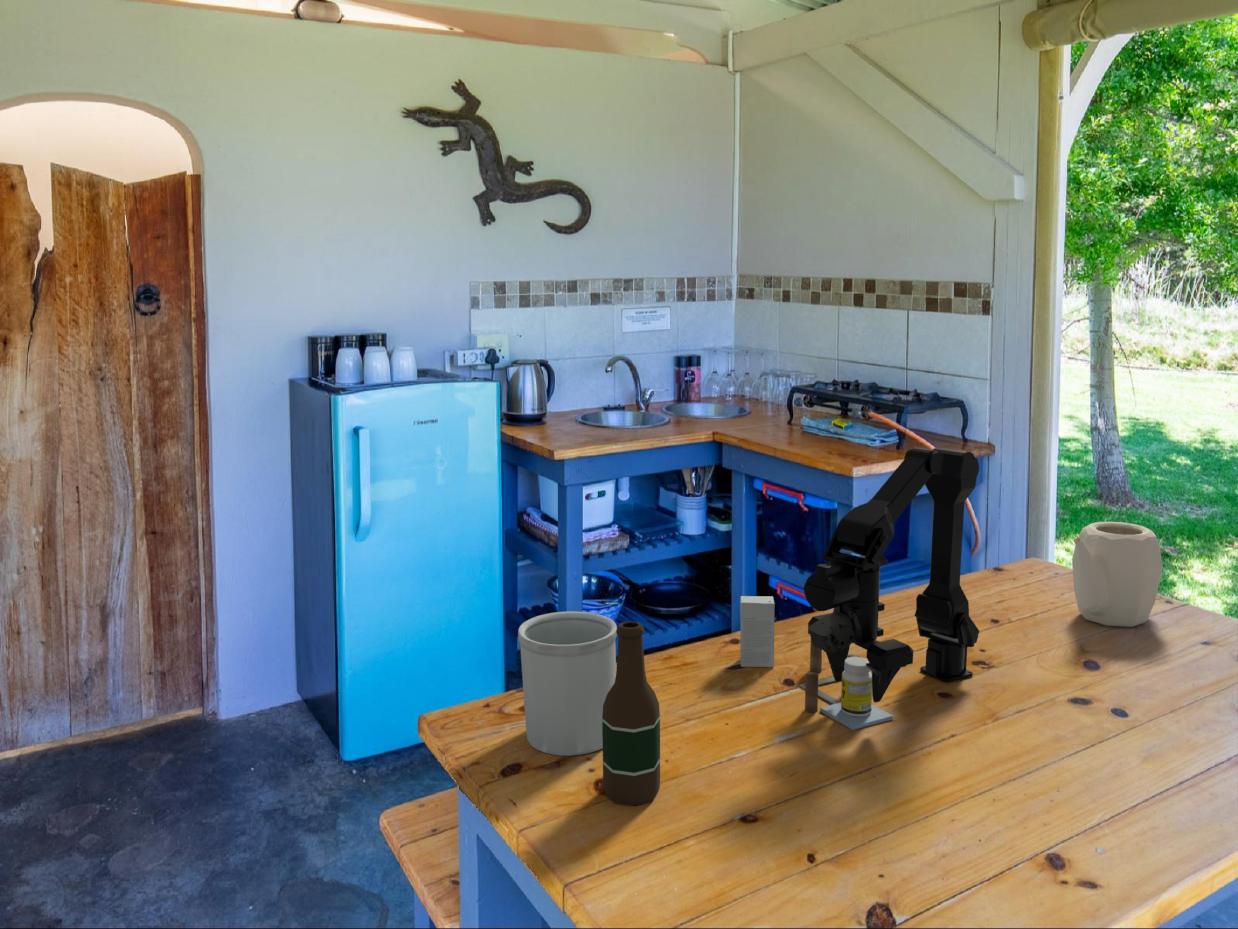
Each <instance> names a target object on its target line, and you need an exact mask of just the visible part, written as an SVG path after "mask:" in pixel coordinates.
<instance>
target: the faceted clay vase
mask: <svg viewBox="0 0 1238 929" xmlns="http://www.w3.org/2000/svg"><path fill="white" fill-rule="evenodd" d="M1072 541H1073V543H1074V544H1075V545H1074V550H1073V554H1072V558H1071V561H1072V563H1071V564H1072V578H1073V591H1074V595H1075V600H1076V605H1077V608H1078V612H1079V613H1080V614H1081V616H1082V617H1083V619H1085V620H1086V621H1090V622H1094V623H1098V624H1101V625H1103V626H1107V627H1123V628H1124V627H1127V628H1132V627H1135V626H1138V625H1141V624H1144V623H1146V622H1147V621H1148V619H1149V617H1150V615H1151V612H1152V610H1153V607H1154V605H1155V604H1156V600H1157V599H1156V598H1157V595H1158V590H1159V588H1160V583H1161V582H1160V581H1161V578H1162V574H1163V565H1162V564H1163V562H1162V553H1161V548H1160V545H1159V544H1160V543H1159V541H1158V538H1157V535H1156V534H1155V533H1154V531H1152V530H1151V529H1149V528H1147V526H1146V527H1145V526H1143V525H1139V524H1135V523H1131V522H1130V523H1129V522H1124V521H1123V522H1122V521H1097V522H1092V523H1090V524H1088V525H1086V526H1084V527H1083V528H1082V529H1081V531H1080V534H1079V535H1078V537H1075V538H1074V539H1072Z"/></svg>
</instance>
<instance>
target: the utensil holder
mask: <svg viewBox="0 0 1238 929" xmlns="http://www.w3.org/2000/svg"><path fill="white" fill-rule="evenodd" d="M617 627H618V625H617V624H616V622H615V621H614V620H613V619H611V618H609V617H608V616H605V615H602V614H598V613H595V612H594V613H593V612H587V611H570V610H569V611H558V612H557V611H556V612H550V613H544V614H540V615H537V616H534V617H532V618H529V619H528V620H526V621H524V622H523V623H521V624H520V626H519V627H518V629H517V631H518V632H517V638H518V641H519V644H520V660H521V661H520V662H521V676H522V690H523V694H522V695H523V707H524V718H525V731H526V732H525V733H526V740H527V743H528V744H529V745H530V746H531V747H532V748H534V749H535V750H537V751H540V752H542V753H546V754H548V755H553V756H562V757H563V756H565V757H566V756H567V757H570V756H577V755H578V756H579V755H585V754H586V755H587V754H590V753H594V752H598V751H599V750H603V738H602V714H603V704H604V702H605V699H606V696H607V694H608V692H609V691H610V689H611V688H612V686H613V685H614V683H615V678H616V672H617V656H616V655H617V653H616V651H617V650H616V639H617V638H618V637H617V636H618V634H617V633H616V631H617Z"/></svg>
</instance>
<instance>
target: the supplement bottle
mask: <svg viewBox="0 0 1238 929" xmlns="http://www.w3.org/2000/svg"><path fill="white" fill-rule="evenodd" d="M866 663H869V661H868V659H867V657H866V658H865V657H862V656H860V657H849V658H848V657H847V659H845V664H844V669H845V670H844V671H843V673H842V681H841V698H840V699H841V701H840V702H841V710H842V711H843V713H845V714H847V715H849V716H855V717H863V716H867V715H869V714H870V713H871V710H872V705H873V695H872V672H871V670H870V669H869V668H868V667H867V666H866Z"/></svg>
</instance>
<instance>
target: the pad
mask: <svg viewBox="0 0 1238 929" xmlns="http://www.w3.org/2000/svg"><path fill="white" fill-rule="evenodd" d="M819 712H821V713H823V714H824V715H826V716H828V718H829V717H830V718H831V719H833V720H834V721H836V722H838V723H840V724H842V725H843V726H845V727H847V728H849V729H850V730H852V731H854V730H859V729H861V728H866V727H869V726H873V725H877V724H881V723H885V722H888V721H891V720H894V715H892V714H891V713H889V712H887V711H885V710H883V709H881V708H880V707H877V706H876V705H874V704H872V710H871V713H870V714H869V715H867V716H863V717H855V716H849V715H847V714H845V713H843V711H842V710H841V701H840V703H836V704H828V705H823V706H821V707H819Z"/></svg>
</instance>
